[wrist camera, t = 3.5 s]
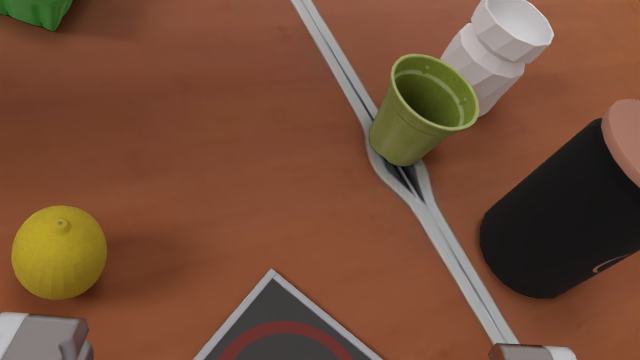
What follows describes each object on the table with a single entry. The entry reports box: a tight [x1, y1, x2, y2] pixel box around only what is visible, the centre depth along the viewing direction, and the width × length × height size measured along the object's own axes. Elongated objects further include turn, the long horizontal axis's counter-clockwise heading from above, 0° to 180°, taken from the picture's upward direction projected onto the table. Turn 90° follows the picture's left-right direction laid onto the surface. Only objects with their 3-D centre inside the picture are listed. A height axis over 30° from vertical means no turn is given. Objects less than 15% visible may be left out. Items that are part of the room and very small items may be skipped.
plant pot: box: [369, 54, 479, 166], centre depth 55 cm, size 9×9×9 cm
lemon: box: [11, 205, 107, 300], centre depth 35 cm, size 6×6×8 cm
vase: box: [440, 0, 554, 117], centre depth 63 cm, size 9×9×12 cm
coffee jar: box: [480, 98, 640, 298], centre depth 49 cm, size 11×11×18 cm
